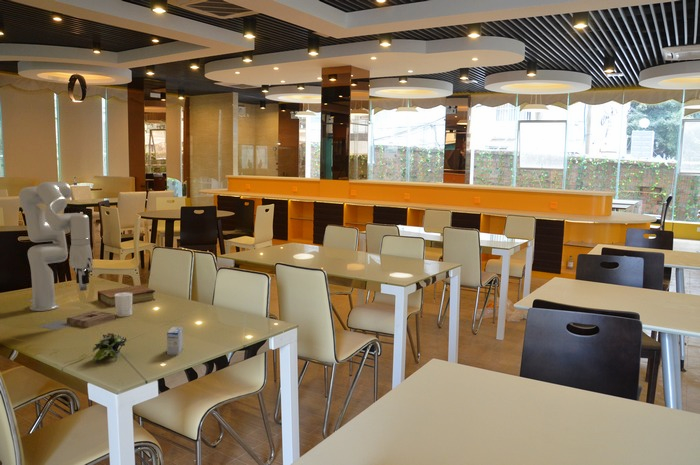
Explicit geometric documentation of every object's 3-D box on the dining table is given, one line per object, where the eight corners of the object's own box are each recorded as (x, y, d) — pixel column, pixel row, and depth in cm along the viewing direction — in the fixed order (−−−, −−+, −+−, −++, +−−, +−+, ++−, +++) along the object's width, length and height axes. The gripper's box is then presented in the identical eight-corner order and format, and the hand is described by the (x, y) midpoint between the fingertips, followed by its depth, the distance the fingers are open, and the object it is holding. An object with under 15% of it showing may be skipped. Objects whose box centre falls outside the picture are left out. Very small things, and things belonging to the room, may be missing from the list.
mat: (37, 327, 246) (37, 326, 246) (58, 321, 255) (58, 320, 255) (56, 330, 240) (55, 329, 240) (76, 324, 249) (76, 324, 249)
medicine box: (171, 348, 219) (171, 326, 218) (183, 348, 220) (182, 326, 219) (167, 355, 212) (166, 332, 211) (179, 354, 212) (178, 332, 211)
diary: (141, 295, 310) (140, 284, 309) (155, 301, 296) (154, 290, 295) (97, 301, 294) (97, 290, 294) (110, 308, 281) (110, 296, 280)
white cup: (136, 312, 270) (135, 292, 269) (128, 317, 262) (127, 296, 261) (120, 312, 271) (119, 292, 270) (112, 316, 263) (111, 295, 262)
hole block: (67, 324, 251) (66, 317, 250) (93, 316, 263) (93, 310, 263) (88, 328, 244) (88, 321, 244) (114, 320, 257) (114, 314, 257)
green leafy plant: (109, 369, 211) (123, 339, 216) (123, 371, 204) (137, 340, 209) (82, 358, 204) (97, 327, 209) (95, 360, 197) (110, 328, 202)
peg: (77, 290, 250) (76, 268, 249) (83, 288, 253) (82, 267, 251) (82, 290, 249) (81, 268, 247) (88, 289, 251) (87, 267, 250)
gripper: (61, 242, 249) (63, 282, 251) (85, 244, 241) (87, 286, 243) (76, 240, 255) (78, 280, 257) (100, 242, 248) (102, 283, 250)
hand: (82, 282), depth 250 cm, fingers closed on peg, 3 cm apart
